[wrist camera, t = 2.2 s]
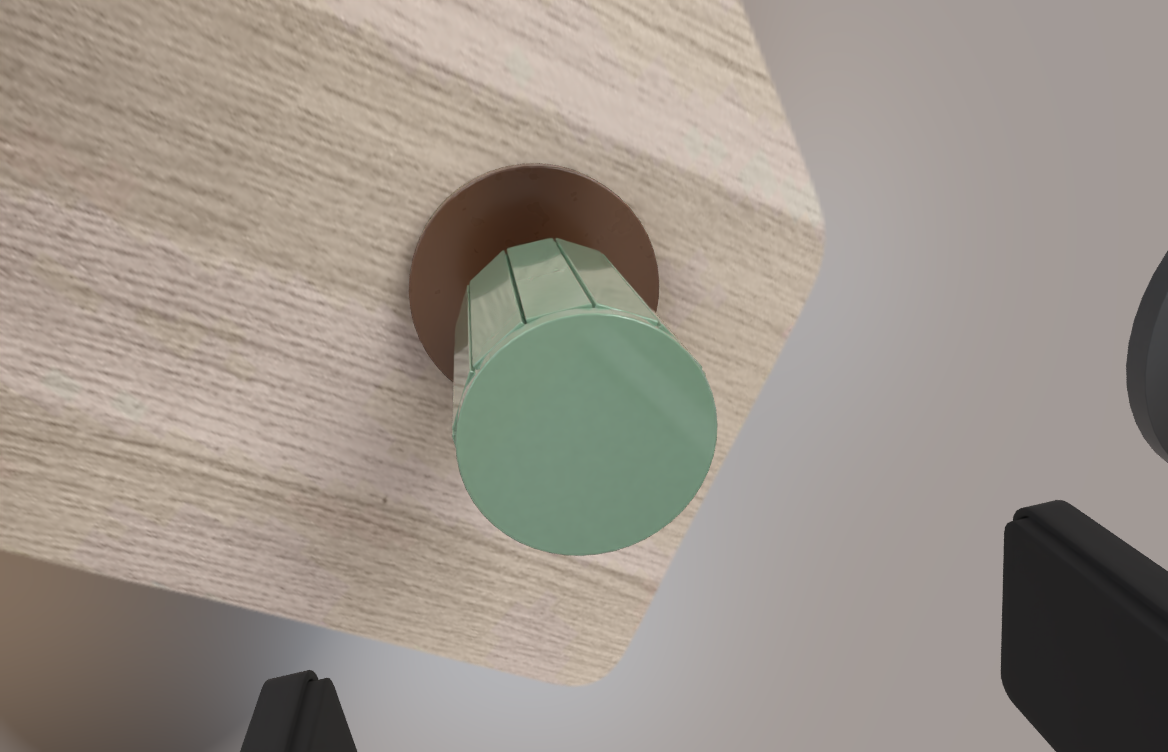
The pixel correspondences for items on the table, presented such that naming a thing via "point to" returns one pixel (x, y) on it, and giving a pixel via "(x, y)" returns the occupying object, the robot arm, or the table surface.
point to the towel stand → (517, 240)
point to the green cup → (575, 403)
